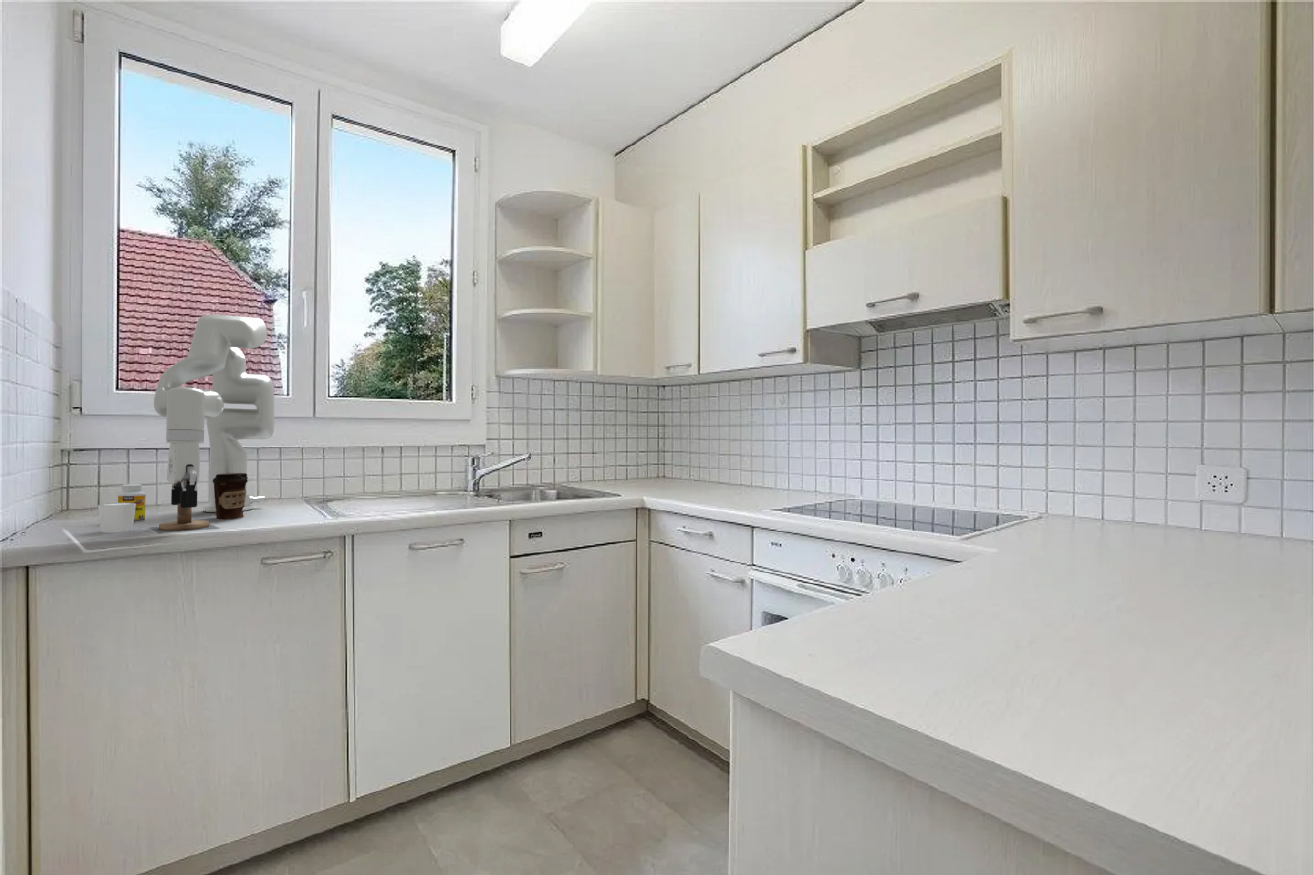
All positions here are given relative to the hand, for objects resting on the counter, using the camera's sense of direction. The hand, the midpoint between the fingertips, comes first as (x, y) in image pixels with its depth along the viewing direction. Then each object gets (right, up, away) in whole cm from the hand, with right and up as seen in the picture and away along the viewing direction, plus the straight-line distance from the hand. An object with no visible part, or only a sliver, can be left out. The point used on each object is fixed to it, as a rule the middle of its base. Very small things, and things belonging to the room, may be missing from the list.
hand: (183, 506), depth 153 cm
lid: (0, -6, +1) cm, 6 cm away
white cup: (-12, -6, -5) cm, 15 cm away
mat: (0, -6, +1) cm, 6 cm away
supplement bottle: (-21, -6, +10) cm, 24 cm away
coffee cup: (-1, -6, +19) cm, 20 cm away
